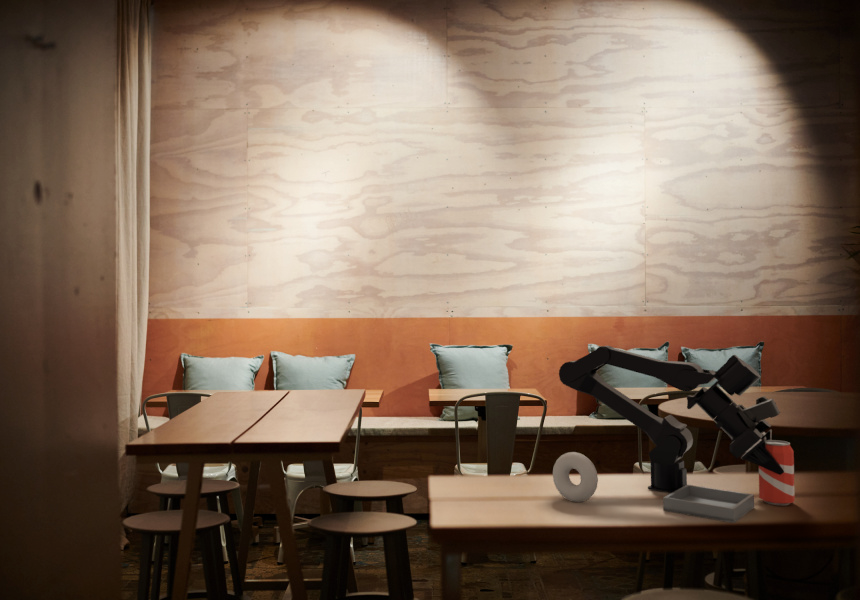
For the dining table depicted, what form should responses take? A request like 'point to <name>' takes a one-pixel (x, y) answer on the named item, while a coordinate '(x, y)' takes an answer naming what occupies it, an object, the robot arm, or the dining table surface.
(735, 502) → the tray
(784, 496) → the beverage can
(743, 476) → the dining table surface
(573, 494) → the donut
